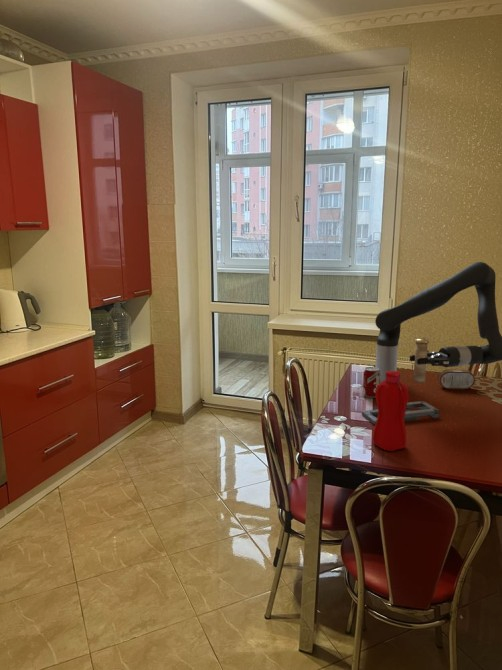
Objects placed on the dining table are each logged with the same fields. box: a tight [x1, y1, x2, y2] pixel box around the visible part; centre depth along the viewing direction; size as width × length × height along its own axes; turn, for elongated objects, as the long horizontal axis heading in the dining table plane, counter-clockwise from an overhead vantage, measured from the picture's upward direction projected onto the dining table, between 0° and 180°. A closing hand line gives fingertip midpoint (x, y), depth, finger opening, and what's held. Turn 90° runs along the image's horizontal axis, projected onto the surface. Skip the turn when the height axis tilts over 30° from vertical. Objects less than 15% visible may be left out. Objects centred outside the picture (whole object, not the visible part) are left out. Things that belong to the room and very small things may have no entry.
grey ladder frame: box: [361, 400, 440, 426], centre depth 179 cm, size 26×10×3 cm, turn 103°
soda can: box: [362, 366, 380, 399], centre depth 200 cm, size 7×7×12 cm
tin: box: [437, 368, 476, 390], centre depth 208 cm, size 15×3×8 cm, turn 84°
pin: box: [413, 337, 430, 384], centre depth 176 cm, size 5×5×16 cm
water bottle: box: [372, 371, 410, 452], centre depth 152 cm, size 9×11×25 cm
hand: (413, 359), depth 175 cm, fingers closed on pin, 4 cm apart
